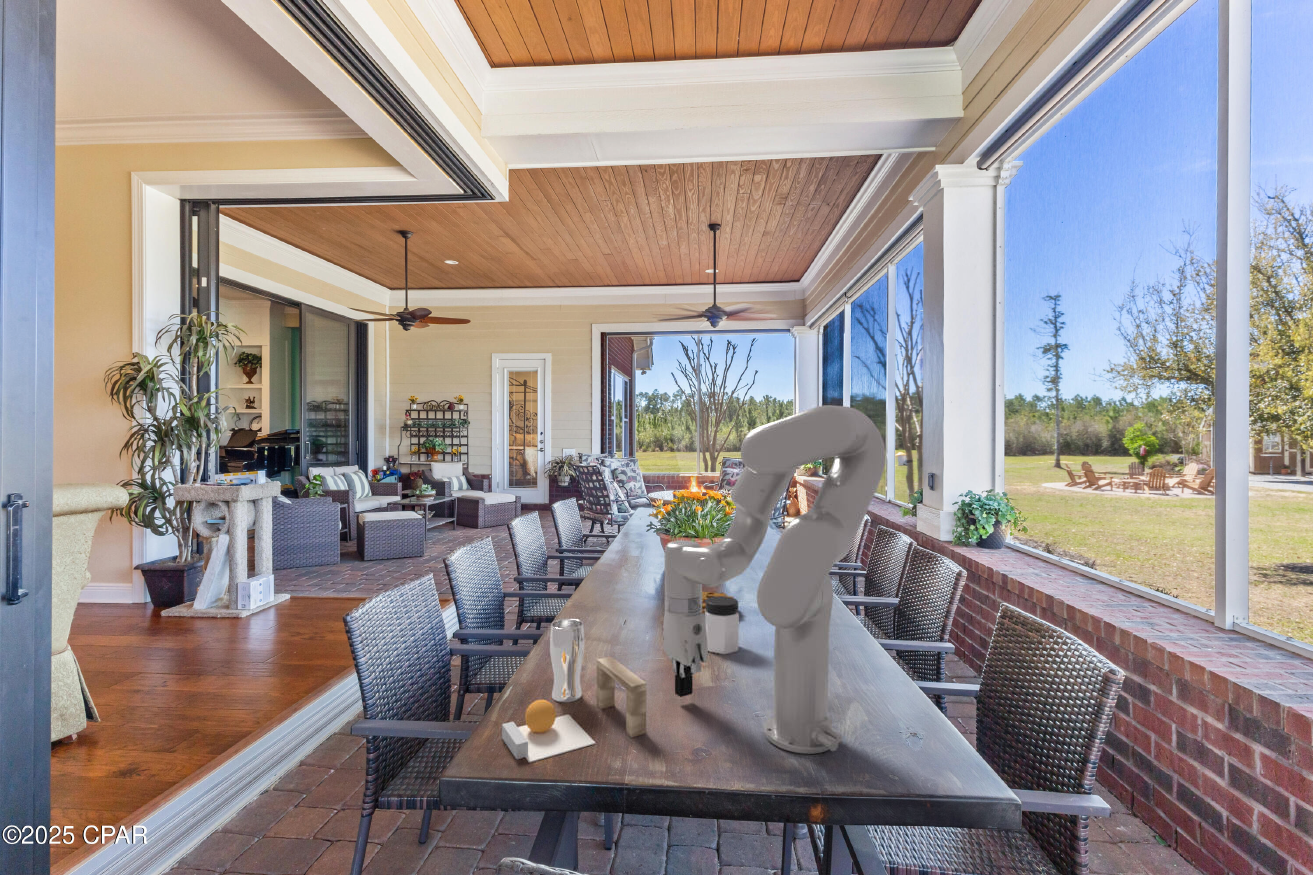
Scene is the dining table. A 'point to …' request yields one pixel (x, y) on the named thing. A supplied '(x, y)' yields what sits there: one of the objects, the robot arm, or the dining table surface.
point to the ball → (540, 716)
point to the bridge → (634, 699)
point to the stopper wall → (515, 740)
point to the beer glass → (567, 658)
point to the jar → (722, 624)
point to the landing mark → (555, 739)
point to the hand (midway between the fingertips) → (683, 693)
